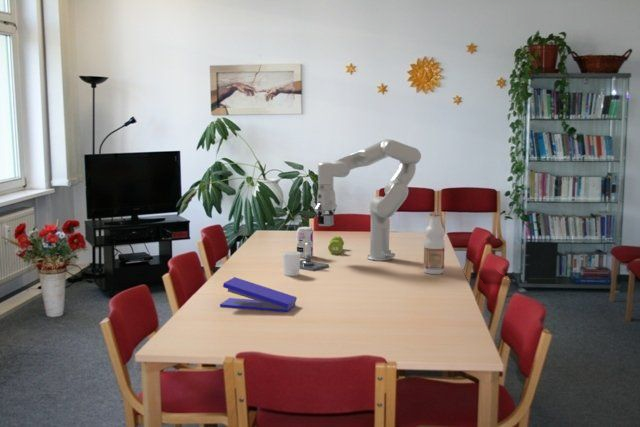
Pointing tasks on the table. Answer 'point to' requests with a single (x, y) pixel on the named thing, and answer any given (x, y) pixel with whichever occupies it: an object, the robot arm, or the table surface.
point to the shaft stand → (309, 264)
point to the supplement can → (304, 239)
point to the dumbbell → (336, 245)
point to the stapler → (257, 297)
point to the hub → (328, 220)
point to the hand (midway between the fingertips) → (326, 222)
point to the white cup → (291, 263)
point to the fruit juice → (434, 246)
